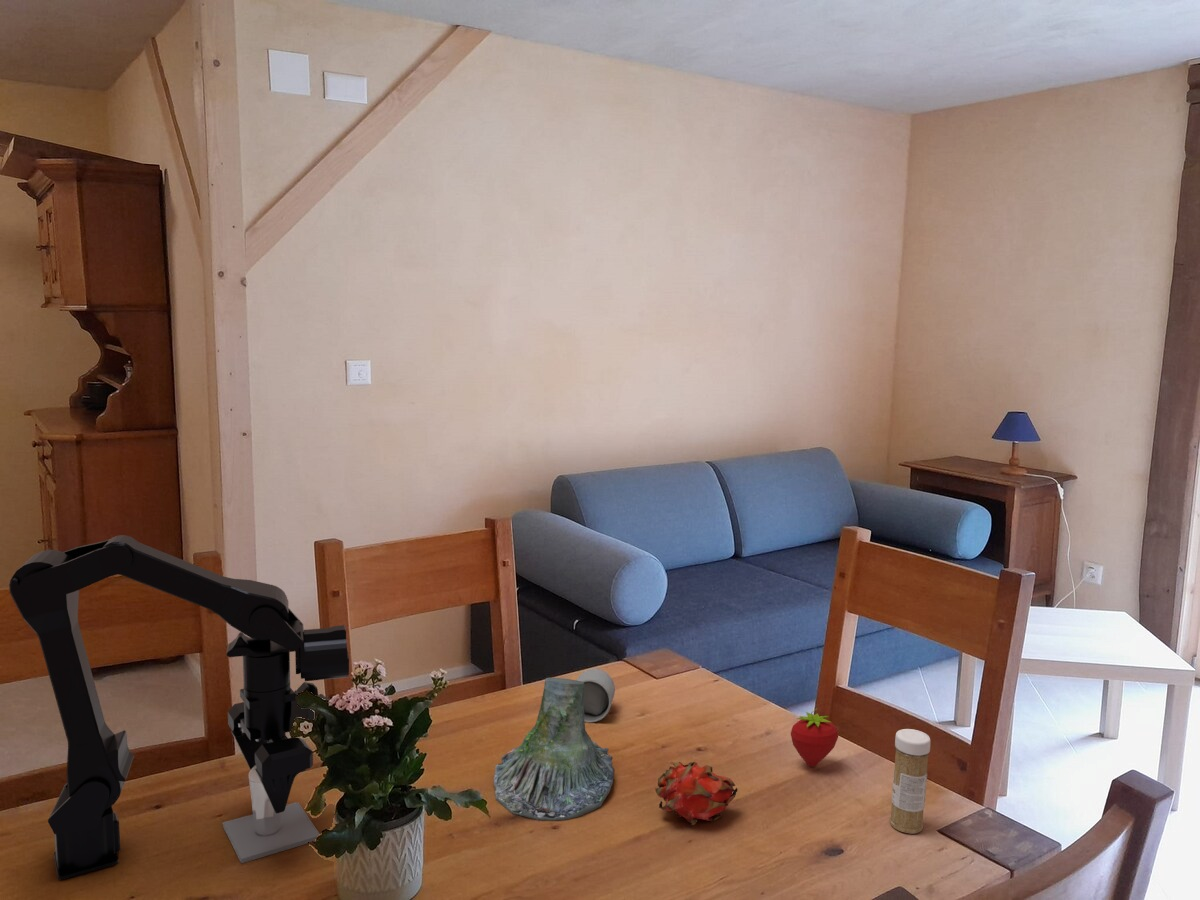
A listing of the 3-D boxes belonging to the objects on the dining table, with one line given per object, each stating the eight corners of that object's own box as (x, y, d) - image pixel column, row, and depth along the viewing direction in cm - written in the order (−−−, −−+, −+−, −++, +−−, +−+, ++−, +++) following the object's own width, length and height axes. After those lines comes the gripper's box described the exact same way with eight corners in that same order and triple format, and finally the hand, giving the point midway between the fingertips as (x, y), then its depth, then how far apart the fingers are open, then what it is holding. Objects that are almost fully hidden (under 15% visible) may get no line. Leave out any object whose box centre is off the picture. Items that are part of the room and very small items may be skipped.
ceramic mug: (615, 705, 164) (616, 664, 163) (610, 724, 156) (610, 681, 155) (558, 701, 166) (558, 661, 165) (550, 720, 158) (549, 678, 157)
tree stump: (464, 808, 129) (474, 680, 131) (524, 779, 148) (532, 666, 150) (584, 830, 123) (592, 694, 125) (631, 796, 141) (638, 679, 143)
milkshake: (279, 842, 118) (278, 770, 116) (242, 835, 119) (241, 764, 117) (298, 823, 122) (297, 753, 121) (261, 817, 123) (260, 748, 122)
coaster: (241, 863, 114) (241, 859, 114) (222, 826, 122) (222, 822, 122) (320, 839, 120) (320, 835, 120) (297, 805, 128) (297, 801, 128)
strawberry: (843, 774, 141) (847, 712, 139) (797, 777, 139) (801, 715, 138) (826, 756, 147) (830, 697, 145) (782, 759, 145) (785, 700, 144)
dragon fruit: (646, 825, 128) (727, 833, 130) (662, 818, 121) (748, 826, 122) (648, 762, 132) (727, 770, 134) (664, 752, 125) (747, 761, 126)
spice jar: (891, 814, 129) (897, 725, 127) (925, 822, 128) (932, 731, 126) (887, 830, 125) (894, 738, 123) (922, 838, 123) (929, 745, 122)
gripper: (352, 695, 115) (354, 811, 117) (307, 650, 130) (309, 753, 132) (261, 715, 109) (265, 836, 111) (225, 665, 124) (228, 773, 126)
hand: (270, 796), depth 120 cm, fingers open, 9 cm apart
